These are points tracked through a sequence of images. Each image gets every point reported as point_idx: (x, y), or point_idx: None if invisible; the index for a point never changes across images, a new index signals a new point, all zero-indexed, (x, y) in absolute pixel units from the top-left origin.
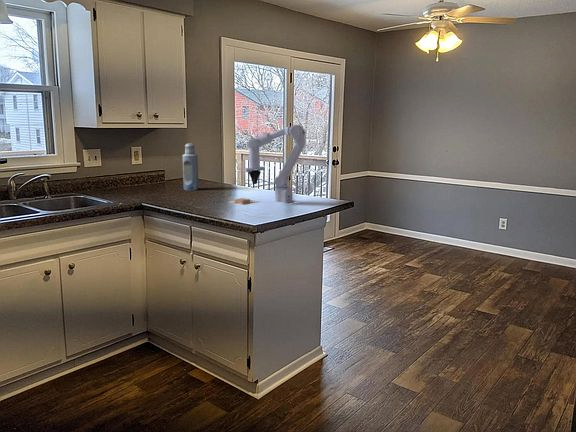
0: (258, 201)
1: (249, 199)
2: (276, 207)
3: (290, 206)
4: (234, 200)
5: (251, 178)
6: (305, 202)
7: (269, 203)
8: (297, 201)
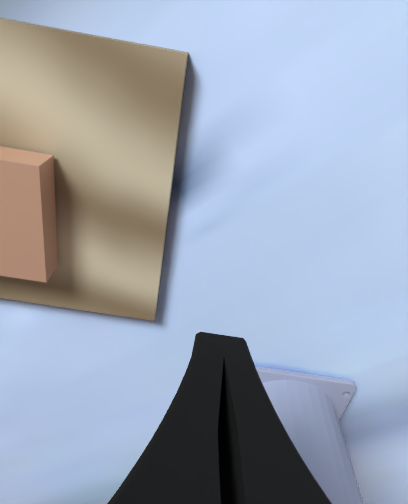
0: (151, 299)
1: (35, 280)
2: (87, 449)
3: None
4: (12, 22)
5: (164, 422)
6: None
7: None
8: (367, 462)
